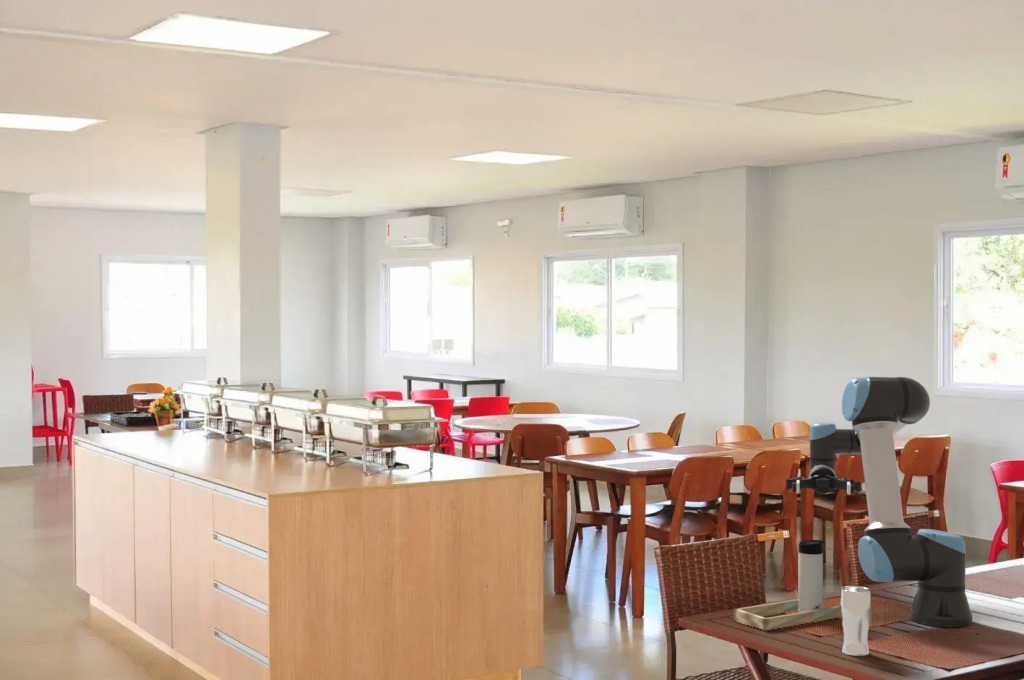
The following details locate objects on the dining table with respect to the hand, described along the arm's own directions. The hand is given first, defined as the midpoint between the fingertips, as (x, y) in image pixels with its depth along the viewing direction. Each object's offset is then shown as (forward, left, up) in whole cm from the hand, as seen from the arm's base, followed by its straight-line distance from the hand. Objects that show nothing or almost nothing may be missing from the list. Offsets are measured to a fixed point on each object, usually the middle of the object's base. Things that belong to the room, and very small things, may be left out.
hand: (823, 489), depth 319 cm
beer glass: (-38, +28, -32) cm, 57 cm away
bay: (-7, +20, -32) cm, 38 cm away
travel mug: (-7, +11, -32) cm, 35 cm away
